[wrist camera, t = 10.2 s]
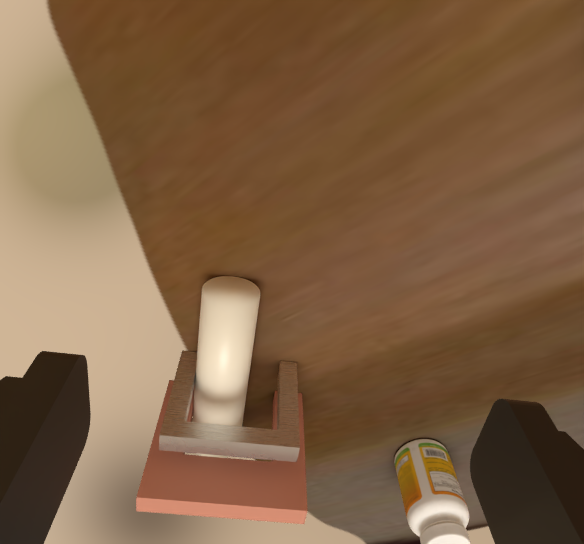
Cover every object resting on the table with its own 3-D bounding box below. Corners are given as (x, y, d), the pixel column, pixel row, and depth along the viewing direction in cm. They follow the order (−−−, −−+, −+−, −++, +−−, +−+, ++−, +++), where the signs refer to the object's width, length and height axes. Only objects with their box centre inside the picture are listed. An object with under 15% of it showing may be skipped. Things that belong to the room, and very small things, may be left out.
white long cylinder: (229, 269, 42) (187, 288, 39) (273, 293, 40) (233, 315, 37) (215, 413, 50) (178, 440, 46) (251, 440, 48) (216, 470, 44)
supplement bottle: (403, 480, 54) (426, 574, 45) (385, 447, 51) (406, 540, 43) (454, 464, 53) (487, 558, 44) (438, 430, 50) (470, 522, 42)
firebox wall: (302, 393, 47) (307, 510, 37) (294, 428, 50) (298, 548, 39) (169, 380, 46) (136, 497, 36) (168, 416, 49) (136, 537, 38)
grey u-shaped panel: (297, 362, 46) (299, 447, 37) (294, 375, 46) (296, 462, 38) (182, 350, 45) (159, 435, 37) (181, 364, 46) (159, 450, 37)
